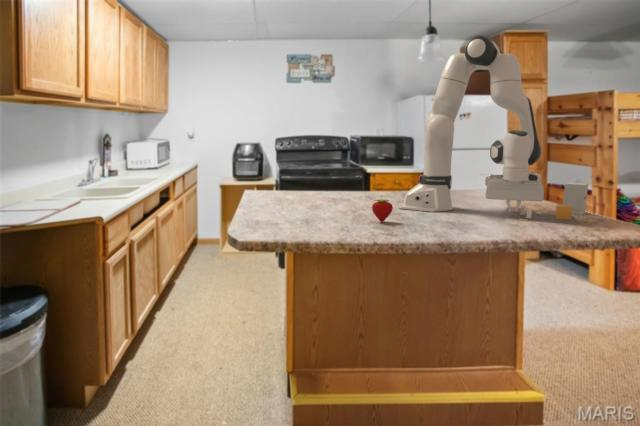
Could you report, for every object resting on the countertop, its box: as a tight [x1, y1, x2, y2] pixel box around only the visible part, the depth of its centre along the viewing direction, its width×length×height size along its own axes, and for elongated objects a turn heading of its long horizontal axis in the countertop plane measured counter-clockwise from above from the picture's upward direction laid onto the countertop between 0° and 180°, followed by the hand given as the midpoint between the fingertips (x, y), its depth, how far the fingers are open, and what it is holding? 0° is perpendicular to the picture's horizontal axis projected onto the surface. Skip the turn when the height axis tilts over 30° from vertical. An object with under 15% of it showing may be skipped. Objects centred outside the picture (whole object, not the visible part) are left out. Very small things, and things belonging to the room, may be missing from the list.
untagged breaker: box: [519, 205, 527, 216], centre depth 187 cm, size 2×2×4 cm
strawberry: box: [371, 195, 393, 223], centre depth 178 cm, size 6×8×10 cm
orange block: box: [554, 204, 573, 219], centre depth 182 cm, size 5×5×4 cm
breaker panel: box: [516, 210, 579, 225], centre depth 182 cm, size 20×16×2 cm
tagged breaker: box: [526, 207, 533, 219], centre depth 181 cm, size 2×2×4 cm
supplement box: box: [562, 182, 589, 216], centre depth 193 cm, size 7×7×13 cm
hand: (512, 212), depth 183 cm, fingers closed
